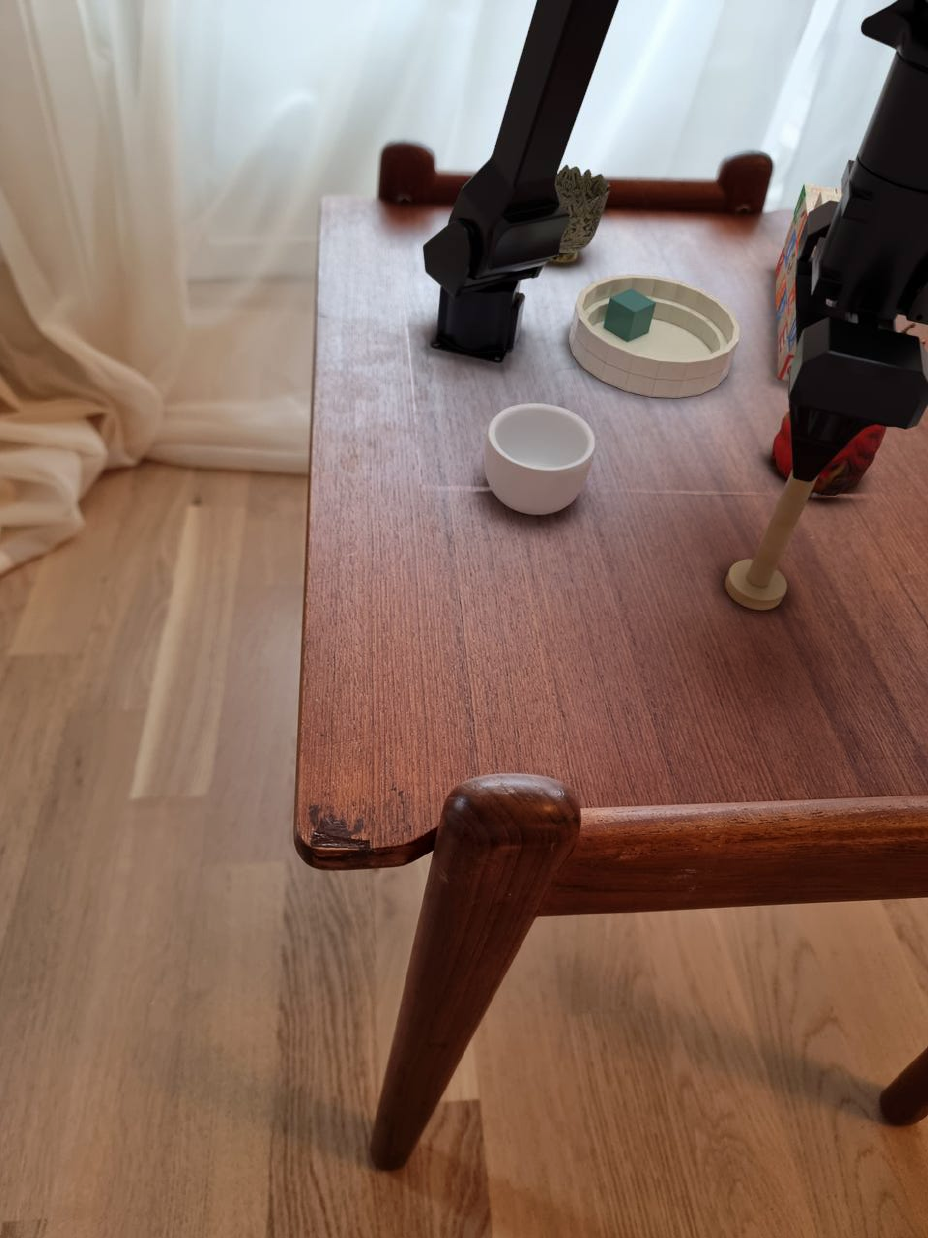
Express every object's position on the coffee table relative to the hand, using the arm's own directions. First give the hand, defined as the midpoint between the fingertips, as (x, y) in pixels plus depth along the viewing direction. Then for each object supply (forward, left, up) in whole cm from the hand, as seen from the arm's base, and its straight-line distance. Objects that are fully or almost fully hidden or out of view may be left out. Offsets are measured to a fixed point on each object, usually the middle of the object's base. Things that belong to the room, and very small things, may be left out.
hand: (803, 433), depth 59 cm
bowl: (-10, +27, -13) cm, 32 cm away
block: (-13, +30, -12) cm, 35 cm away
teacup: (-16, +5, -13) cm, 21 cm away
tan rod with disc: (+1, 0, -13) cm, 13 cm away
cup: (-21, +41, -13) cm, 48 cm away
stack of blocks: (+4, +38, -13) cm, 40 cm away
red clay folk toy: (+5, +15, -13) cm, 21 cm away
